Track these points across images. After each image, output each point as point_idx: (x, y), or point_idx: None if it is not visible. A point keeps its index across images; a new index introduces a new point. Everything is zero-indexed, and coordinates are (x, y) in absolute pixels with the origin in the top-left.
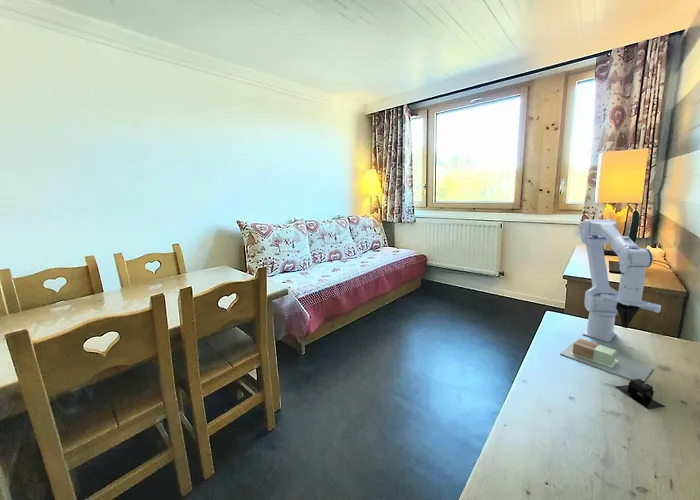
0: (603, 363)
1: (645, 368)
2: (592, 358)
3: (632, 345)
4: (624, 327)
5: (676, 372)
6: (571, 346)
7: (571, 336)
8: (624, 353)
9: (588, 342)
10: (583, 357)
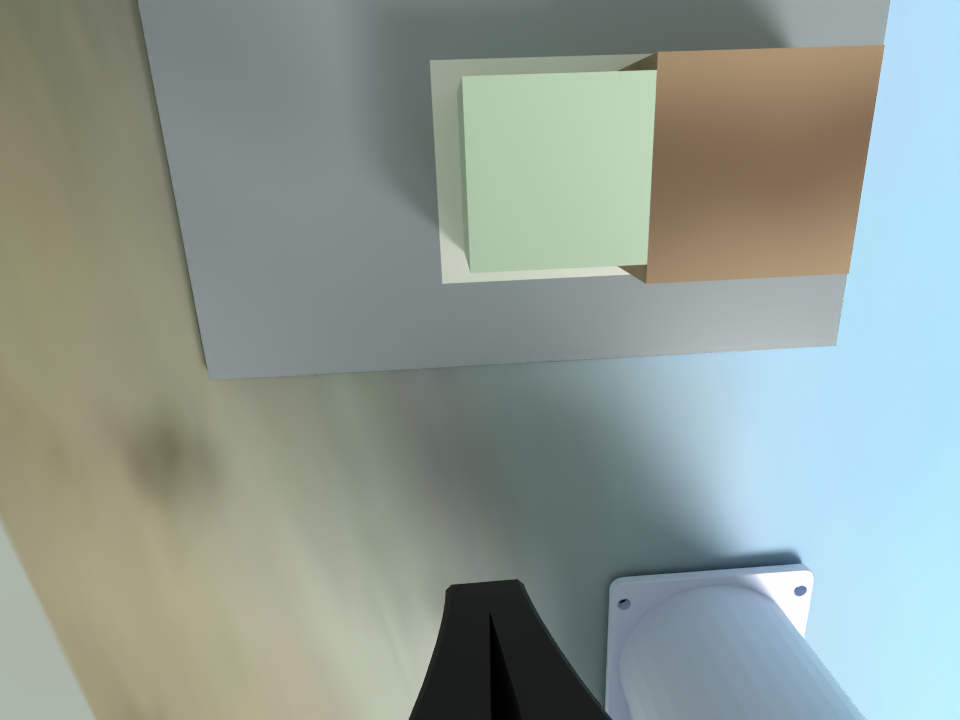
0: None
1: (239, 307)
2: None
3: None
4: (485, 585)
5: (87, 458)
6: None
7: (872, 458)
8: (459, 480)
9: (748, 229)
10: None
